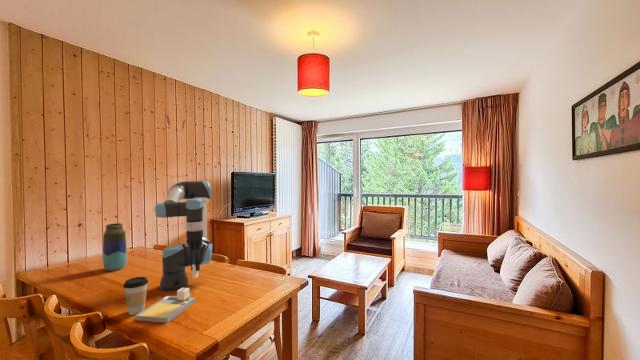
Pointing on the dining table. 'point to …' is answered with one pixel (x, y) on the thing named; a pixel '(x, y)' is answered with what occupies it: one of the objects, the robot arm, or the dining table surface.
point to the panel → (165, 309)
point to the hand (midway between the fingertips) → (195, 277)
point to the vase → (114, 247)
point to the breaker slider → (183, 294)
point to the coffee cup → (135, 294)
